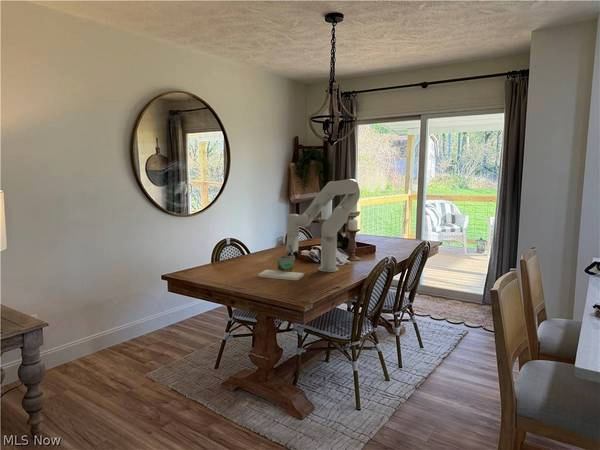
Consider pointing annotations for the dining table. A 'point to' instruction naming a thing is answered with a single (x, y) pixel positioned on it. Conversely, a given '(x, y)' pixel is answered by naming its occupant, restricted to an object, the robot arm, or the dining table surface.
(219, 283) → the dining table surface
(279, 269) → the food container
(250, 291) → the dining table surface
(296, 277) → the cutting board
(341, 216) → the robot arm
